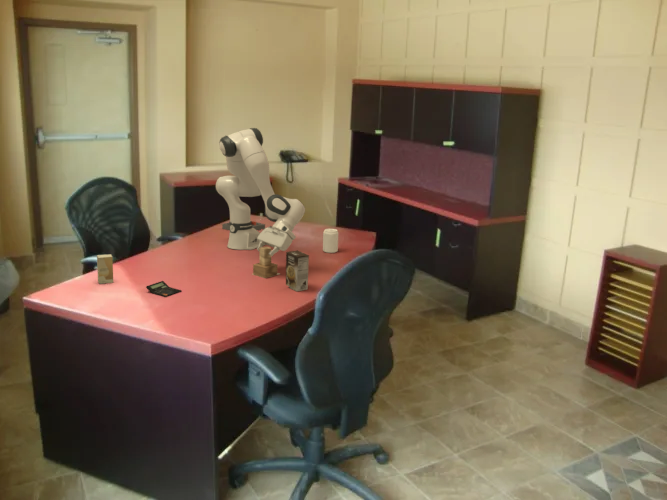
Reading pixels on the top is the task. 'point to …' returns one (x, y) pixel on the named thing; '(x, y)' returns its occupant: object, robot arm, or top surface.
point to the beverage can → (330, 240)
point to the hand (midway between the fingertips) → (264, 252)
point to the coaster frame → (257, 226)
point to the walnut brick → (265, 270)
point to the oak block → (264, 256)
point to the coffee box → (297, 270)
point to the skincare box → (105, 268)
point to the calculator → (162, 289)
